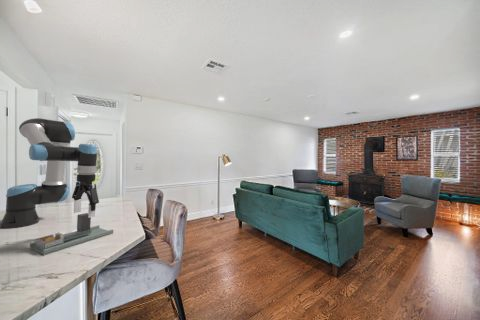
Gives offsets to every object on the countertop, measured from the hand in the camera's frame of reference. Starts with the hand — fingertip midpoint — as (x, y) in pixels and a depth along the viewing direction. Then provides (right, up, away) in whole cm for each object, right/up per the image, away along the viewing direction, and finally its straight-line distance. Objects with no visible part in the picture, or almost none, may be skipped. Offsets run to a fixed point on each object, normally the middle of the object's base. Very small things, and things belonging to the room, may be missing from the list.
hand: (84, 214), depth 97 cm
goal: (-6, -11, -13) cm, 18 cm away
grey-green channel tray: (-1, -12, -3) cm, 12 cm away
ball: (-5, -9, -12) cm, 16 cm away
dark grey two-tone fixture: (-2, -11, -4) cm, 11 cm away
